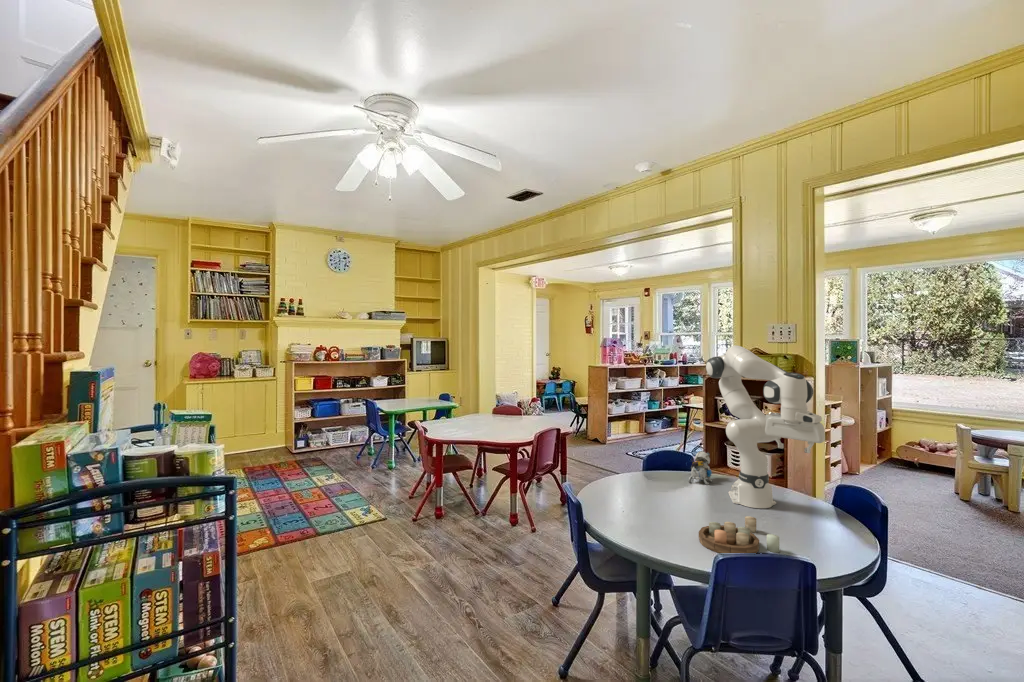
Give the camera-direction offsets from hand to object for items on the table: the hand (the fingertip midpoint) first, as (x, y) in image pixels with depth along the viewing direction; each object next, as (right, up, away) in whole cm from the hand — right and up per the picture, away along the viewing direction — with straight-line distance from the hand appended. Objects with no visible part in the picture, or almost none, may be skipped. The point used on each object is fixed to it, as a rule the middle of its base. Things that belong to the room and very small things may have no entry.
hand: (793, 450), depth 179 cm
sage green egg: (-16, -33, -14) cm, 39 cm away
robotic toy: (-8, -33, +69) cm, 77 cm away
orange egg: (-34, -32, -12) cm, 48 cm away
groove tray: (-30, -33, -9) cm, 45 cm away
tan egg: (-15, -33, +3) cm, 36 cm away
